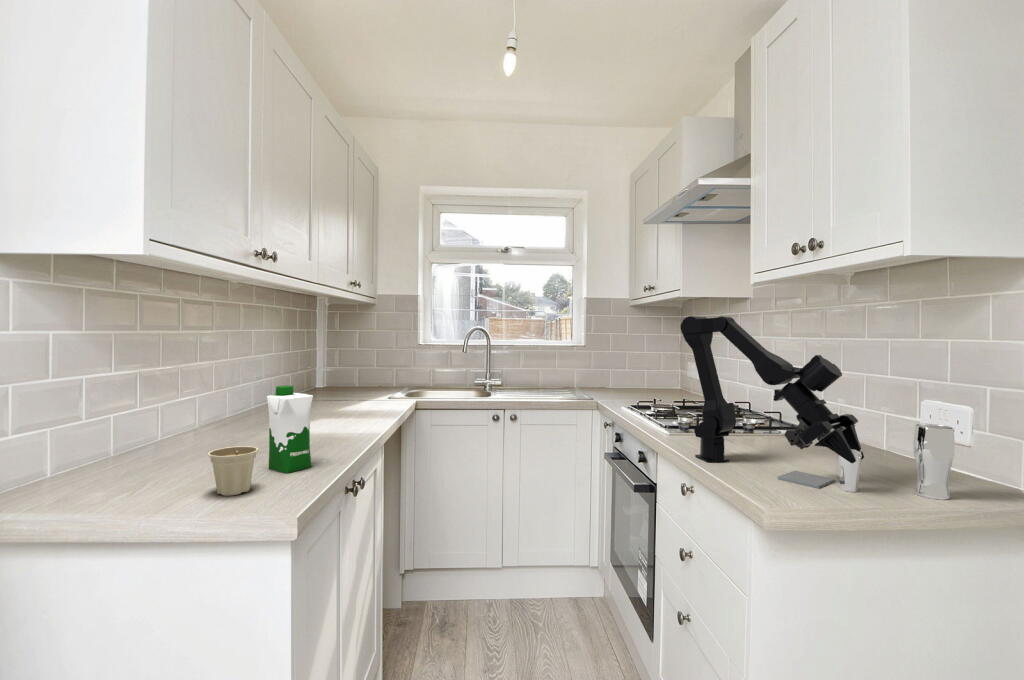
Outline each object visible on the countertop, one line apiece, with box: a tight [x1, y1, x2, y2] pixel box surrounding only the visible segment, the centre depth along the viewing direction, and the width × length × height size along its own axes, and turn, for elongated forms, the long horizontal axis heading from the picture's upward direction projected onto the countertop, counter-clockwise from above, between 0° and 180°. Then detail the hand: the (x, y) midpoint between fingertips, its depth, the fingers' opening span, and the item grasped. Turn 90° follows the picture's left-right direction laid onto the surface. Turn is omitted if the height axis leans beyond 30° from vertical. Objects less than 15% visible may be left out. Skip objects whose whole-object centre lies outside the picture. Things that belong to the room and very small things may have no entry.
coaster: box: [777, 469, 836, 489], centre depth 126 cm, size 9×9×1 cm
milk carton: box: [266, 385, 314, 474], centre depth 131 cm, size 9×9×20 cm
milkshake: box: [836, 447, 864, 493], centre depth 118 cm, size 5×5×10 cm
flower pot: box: [207, 445, 259, 497], centre depth 113 cm, size 9×9×9 cm
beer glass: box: [912, 423, 956, 501], centre depth 115 cm, size 7×7×15 cm
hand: (858, 460), depth 117 cm, fingers closed on milkshake, 4 cm apart
